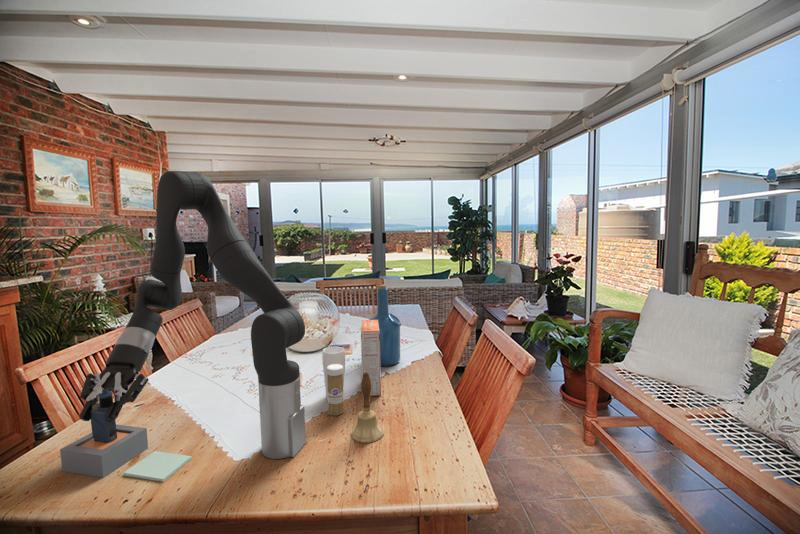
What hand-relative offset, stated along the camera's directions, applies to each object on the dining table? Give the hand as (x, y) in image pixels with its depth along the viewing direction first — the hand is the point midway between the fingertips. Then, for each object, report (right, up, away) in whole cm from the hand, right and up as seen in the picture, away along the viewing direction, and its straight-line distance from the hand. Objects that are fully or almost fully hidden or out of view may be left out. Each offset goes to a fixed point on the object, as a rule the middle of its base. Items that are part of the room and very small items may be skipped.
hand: (96, 420), depth 84 cm
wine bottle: (+61, -3, +64) cm, 88 cm away
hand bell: (+59, -9, +13) cm, 61 cm away
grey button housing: (0, -10, +3) cm, 10 cm away
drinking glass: (+47, -6, +33) cm, 58 cm away
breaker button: (0, -8, +3) cm, 9 cm away
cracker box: (+58, -6, +40) cm, 70 cm away
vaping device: (0, -6, +3) cm, 6 cm away
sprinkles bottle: (+49, -8, +24) cm, 55 cm away
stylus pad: (+14, -10, 0) cm, 17 cm away
